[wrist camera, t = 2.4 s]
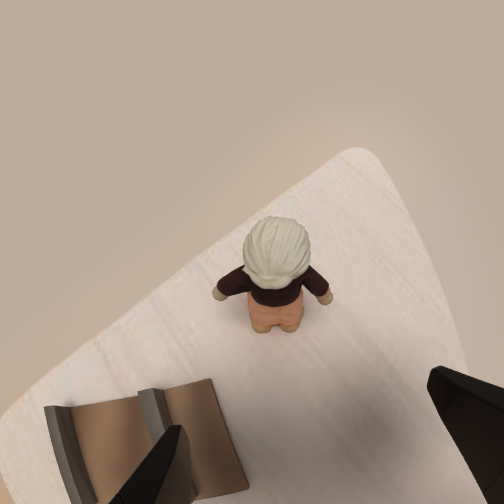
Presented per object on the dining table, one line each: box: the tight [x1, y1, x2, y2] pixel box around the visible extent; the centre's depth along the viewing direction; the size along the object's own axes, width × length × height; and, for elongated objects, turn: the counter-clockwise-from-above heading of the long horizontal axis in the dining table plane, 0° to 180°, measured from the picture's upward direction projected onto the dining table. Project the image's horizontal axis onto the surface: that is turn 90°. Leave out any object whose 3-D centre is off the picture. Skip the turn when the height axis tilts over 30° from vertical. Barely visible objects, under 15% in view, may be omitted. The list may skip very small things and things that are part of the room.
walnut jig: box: [44, 379, 249, 504], centre depth 17 cm, size 14×10×3 cm
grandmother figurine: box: [212, 216, 333, 333], centre depth 19 cm, size 8×4×13 cm, turn 99°
